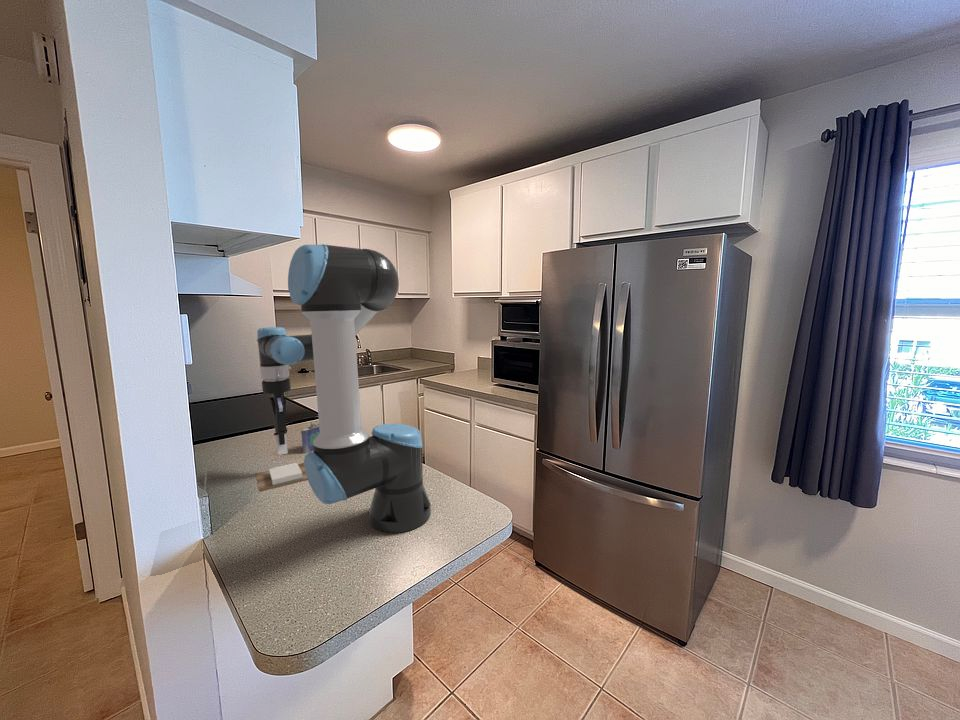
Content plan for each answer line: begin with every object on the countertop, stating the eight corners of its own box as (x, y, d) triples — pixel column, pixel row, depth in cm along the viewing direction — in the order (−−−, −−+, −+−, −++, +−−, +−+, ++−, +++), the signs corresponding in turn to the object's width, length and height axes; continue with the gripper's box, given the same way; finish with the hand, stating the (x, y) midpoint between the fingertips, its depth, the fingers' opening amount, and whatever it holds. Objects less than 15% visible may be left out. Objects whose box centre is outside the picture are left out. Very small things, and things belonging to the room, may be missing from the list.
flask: (305, 455, 135) (303, 426, 134) (300, 453, 137) (298, 424, 135) (328, 447, 143) (326, 419, 141) (323, 445, 144) (321, 418, 143)
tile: (297, 467, 124) (302, 478, 116) (269, 474, 119) (272, 485, 112) (297, 462, 123) (302, 472, 116) (268, 468, 119) (272, 479, 112)
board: (316, 479, 117) (316, 477, 117) (259, 493, 108) (259, 491, 108) (307, 463, 128) (307, 462, 128) (255, 475, 120) (255, 473, 120)
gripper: (293, 380, 112) (299, 457, 116) (286, 374, 123) (292, 444, 127) (263, 384, 108) (271, 463, 112) (259, 376, 119) (266, 449, 123)
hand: (282, 453), depth 119 cm, fingers closed
